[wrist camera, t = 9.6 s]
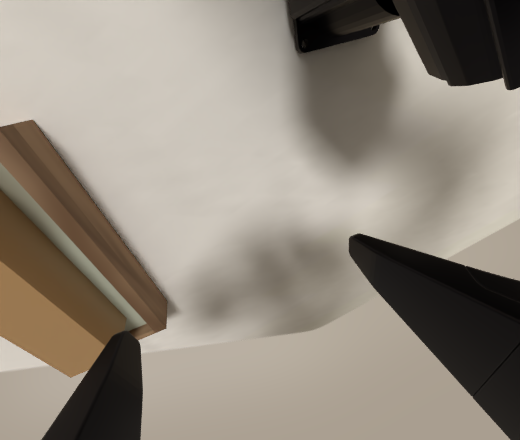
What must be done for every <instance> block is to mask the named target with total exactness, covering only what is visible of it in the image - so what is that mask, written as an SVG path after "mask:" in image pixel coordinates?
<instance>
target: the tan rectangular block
mask: <svg viewBox="0 0 520 440" xmlns="http://www.w3.org/2000/svg"><path fill="white" fill-rule="evenodd" d="M126 320H127V318H126V317H125V316H124V315H123V314H122V313H121V312H120V311H119V310H118V309H117V308H116V307H115V306H114V305H113V304H112V303H111V302H110V301H109V300H108V299H107V297H106V296H105V295H104V294H103V293H102V292H101V291H100V290H99V289H98V288H97V287H96V286H95V285H94V284H93V283H92V282H91V281H90V280H89V279H88V278H87V277H86V276H85V275H84V274H83V273H82V272H81V271H80V270H79V269H78V268H77V267H76V266H75V265H74V264H73V263H72V262H71V261H70V260H69V259H68V258H67V257H66V256H65V255H64V254H63V253H62V252H61V251H60V250H59V249H58V248H57V247H56V246H55V245H54V243H53V242H52V241H51V240H50V239H49V238H48V237H47V236H46V235H45V234H44V233H43V232H42V231H41V230H40V229H39V228H38V227H37V226H36V225H35V224H34V223H33V222H32V221H31V220H30V219H29V218H28V217H27V216H26V215H25V214H24V213H23V212H22V211H21V210H20V209H19V208H18V207H17V206H16V205H15V204H14V203H13V202H12V201H11V200H10V199H9V198H8V197H7V196H6V195H5V194H4V193H3V192H2V190H1V189H0V336H1V337H3V338H5V339H7V340H8V341H10V342H12V343H13V344H15V345H17V346H18V347H20V348H22V349H23V350H25V351H27V352H28V353H30V354H32V355H33V356H35V357H37V358H39V359H40V360H42V361H44V362H45V363H47V364H49V365H50V366H52V367H54V368H55V369H57V370H59V371H60V372H62V373H64V374H66V375H67V376H69V377H73V376H76V375H78V374H80V373H83V372H85V371H87V370H89V369H90V368H91V366H92V365H93V363H94V362H95V360H96V359H97V358H98V356H99V355H100V353H101V352H102V350H103V349H104V347H105V346H106V344H107V343H108V341H109V340H110V338H111V337H112V336H113V335H114V334H116V333H119V332H121V331H124V330H125V325H126Z"/></svg>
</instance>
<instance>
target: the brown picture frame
mask: <svg viewBox="0 0 520 440" xmlns="http://www.w3.org/2000/svg"><path fill="white" fill-rule="evenodd" d="M0 189H1V190H2V192H3V193H4V194H5V195H6V196H7V197H8V198H9V199H10V200H11V201H12V202H13V203H14V204H15V205H16V206H17V207H18V208H19V209H20V210H21V211H22V212H23V213H24V214H25V215H26V216H27V217H28V218H29V219H30V220H31V221H32V222H33V223H34V224H35V225H36V226H37V227H38V228H39V229H40V230H41V231H42V232H43V233H44V234H45V235H46V236H47V237H48V238H49V239H50V240H51V241H52V242H53V243H54V245H55V246H56V247H57V248H58V249H59V250H60V251H61V252H62V253H63V254H64V255H65V256H66V257H67V258H68V259H69V260H70V261H71V262H72V263H73V264H74V265H75V266H76V267H77V268H78V269H79V270H80V271H81V272H82V273H83V274H84V275H85V276H86V277H87V278H88V279H89V280H90V281H91V282H92V283H93V284H94V285H95V286H96V287H97V288H98V289H99V290H100V291H101V292H102V293H103V294H104V295H105V296H106V297H107V299H108V300H109V301H110V302H111V303H112V304H113V305H114V306H115V307H116V308H117V309H118V310H119V311H120V312H121V313H122V314H123V315H124V316H125V317H126V318H127V320H126V325H125V330H127V331H129V332H130V333H131V334H132V335H133V336H134V337H135V338H136V339H137V340H140V339H142V338H145V337H147V336H149V335H152V334H154V333H157V332H159V331H161V330H164V329H166V322H167V300H166V299H165V298H164V296H163V295H162V294H161V292H160V291H159V290H158V288H157V287H156V285H155V284H154V283H153V281H152V280H151V279H150V277H149V276H148V275H147V273H146V272H145V271H144V269H143V268H142V267H141V265H140V264H139V263H138V261H137V260H136V259H135V257H134V256H133V254H132V253H131V252H130V250H129V249H128V248H127V246H126V245H125V244H124V242H123V241H122V240H121V238H120V237H119V236H118V234H117V233H116V232H115V230H114V229H113V228H112V226H111V225H110V223H109V222H108V221H107V219H106V218H105V217H104V215H103V214H102V213H101V211H100V210H99V209H98V207H97V206H96V205H95V203H94V202H93V201H92V199H91V198H90V197H89V195H88V194H87V192H86V191H85V190H84V188H83V187H82V186H81V184H80V183H79V182H78V180H77V179H76V178H75V176H74V175H73V174H72V172H71V171H70V170H69V168H68V167H67V166H66V164H65V163H64V161H63V160H62V159H61V157H60V156H59V155H58V153H57V152H56V151H55V149H54V148H53V147H52V145H51V144H50V143H49V141H48V140H47V139H46V137H45V136H44V135H43V133H42V132H41V130H40V129H39V128H38V126H37V125H36V124H35V122H34V121H33V120H29V121H24V122H20V123H16V124H11V125H7V126H2V127H0Z"/></svg>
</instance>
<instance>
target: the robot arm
mask: <svg viewBox="0 0 520 440" xmlns="http://www.w3.org/2000/svg"><path fill="white" fill-rule="evenodd" d="M289 8H290V15H291V17H292V18H293V22H294V32H295V43H296V49H297V51H298V52H299V53H307V52H310V51H314V50H318V49H322V48H325V47H329V46H333V45H337V44H341V43H344V42H348V41H352V40H356V39H359V38H363V37H367V36H371V35H374V34H376V32H377V31H378V29H379V25H380V24H382V23H386V22H389V21H392V20H395V19H399V18H401V19H402V21H403V23H404V25H405V27H406V29H407V31H408V33H409V36H410V38H411V40H412V42H413V44H414V46H415V48H416V50H417V52H418V54H419V56H420V58H421V60H422V62H423V64H424V66H425V68H426V70H427V72H428V74H429V75H432V76H434V77H436V78H439V79H441V80H446V81H447V83H448V85H450V86H469V85H474V84H479V83H484V82H489V81H494V80H497V79H500V78H503V79H504V83H505V86H506V89H507V90H514V89H516V88H519V87H520V0H289ZM371 27H373V28H372V30H371ZM303 40H304V41H305V43H306V46H305V48H303V47H302V41H303ZM349 254H350V256H351V257H352V259H353V260H354V262H355V263H356V264H357V266H358V267H359V268H360V270H361V271H362V273H363V274H364V275H365V277H366V278H367V279H368V281H369V282H370V283H371V285H372V286H373V287H374V288H375V289H376V291H377V292H378V293H379V294H380V295H381V296H382V297H383V298H384V299H385V301H386V302H387V303H388V304H389V305H390V306H391V307H392V308H393V310H394V311H395V312H396V313H397V314H398V315H399V316H400V317H401V318H402V319H403V321H404V322H405V323H406V324H407V325H408V326H409V327H410V328H411V329H412V331H413V332H414V333H415V334H416V335H417V336H418V337H419V338H420V339H421V341H422V342H423V343H424V344H425V345H426V346H427V347H428V348H429V349H430V351H431V352H432V353H433V354H434V355H435V356H436V357H437V358H438V359H439V360H440V362H441V363H442V364H443V365H444V366H445V367H446V368H447V369H448V371H449V372H450V373H451V374H452V375H453V376H454V377H455V378H456V379H457V380H458V382H459V383H460V384H461V385H462V386H463V387H464V388H465V389H466V390H467V392H468V393H469V394H470V395H471V396H473V399H474V400H475V401H476V402H477V403H478V404H479V405H480V406H481V407H482V408H483V410H485V412H486V413H487V414H488V415H489V416H490V417H491V418H492V420H493V421H494V422H495V423H496V424H497V425H498V426H499V427H500V428H501V430H503V432H504V433H505V434H506V435H507V436H508V437H509V438H510V440H520V281H518V280H514V279H510V278H506V277H503V276H499V275H496V274H492V273H489V272H485V271H482V270H478V269H475V268H472V267H468V266H466V267H465V266H464V265H462V264H458V263H455V262H452V261H449V260H445V259H442V258H439V257H436V256H432V255H429V254H426V253H422V252H419V251H416V250H413V249H409V248H406V247H403V246H399V245H396V244H393V243H390V242H386V241H383V240H380V239H376V238H373V237H370V236H367V235H363V234H355V235H353V236H351V237H350V238H349ZM142 396H143V386H142V366H141V348H140V343H139V341H138V340H137V339H136V338H135V337H134V336H133V335H132V334H131V333H130V332H129V331H127V330H124V331H121V332H119V333H116V334H114V335H113V336H112V337H111V338H110V340H109V341H108V343H107V344H106V346H105V347H104V349H103V350H102V352H101V353H100V355H99V356H98V358H97V359H96V360H95V362H94V363H93V365H92V366H91V368H90V369H89V371H88V373H87V374H86V375H85V377H84V378H83V380H82V381H81V383H80V384H79V385H78V387H77V388H76V390H75V391H74V393H73V394H72V396H71V397H70V399H69V400H68V402H67V403H66V405H65V406H64V408H63V409H62V411H61V412H60V413H59V415H58V416H57V418H56V420H55V421H54V422H53V424H52V425H51V427H50V428H49V430H48V431H47V433H46V434H45V435H44V437H43V438H42V440H140V436H141V417H142V398H143V397H142Z"/></svg>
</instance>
